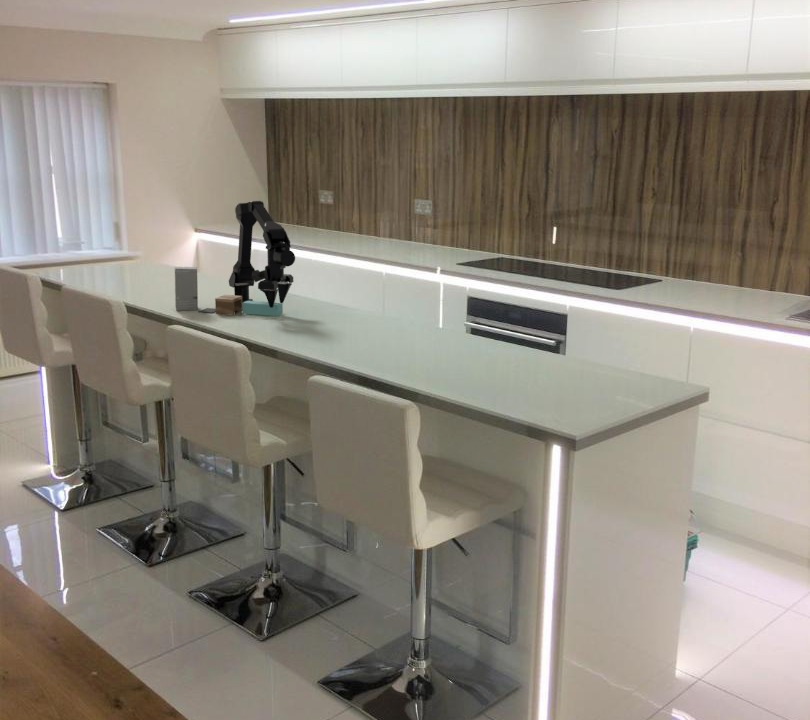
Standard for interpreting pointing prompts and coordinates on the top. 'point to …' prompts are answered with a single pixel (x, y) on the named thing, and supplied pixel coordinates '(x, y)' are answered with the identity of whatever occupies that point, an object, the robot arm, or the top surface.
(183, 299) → the skincare box
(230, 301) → the tunnel
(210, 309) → the mat
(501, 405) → the top surface
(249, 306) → the bar
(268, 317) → the pad
